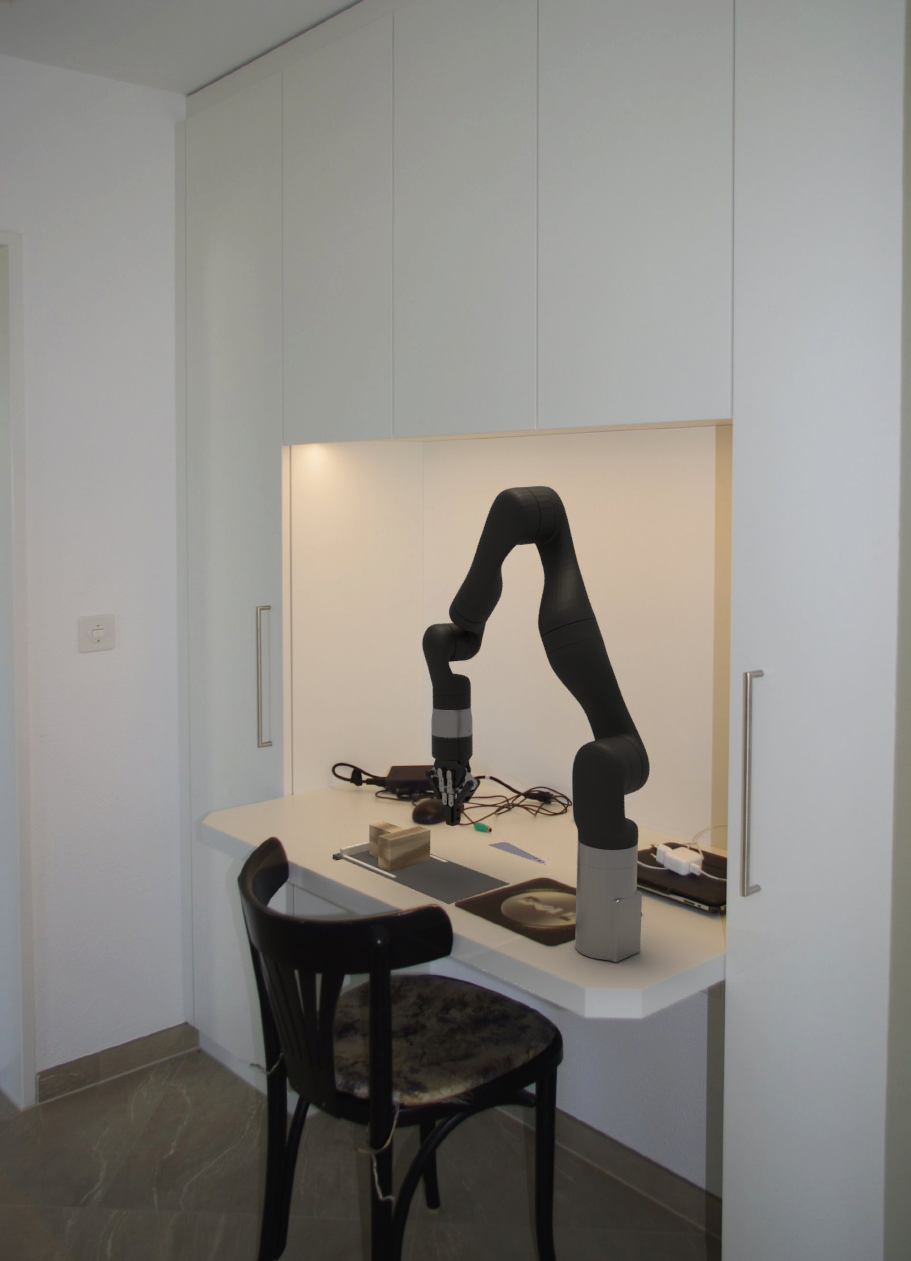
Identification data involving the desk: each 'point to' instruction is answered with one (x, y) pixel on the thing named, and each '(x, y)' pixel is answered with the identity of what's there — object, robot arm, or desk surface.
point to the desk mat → (426, 875)
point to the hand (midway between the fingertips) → (452, 824)
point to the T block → (398, 845)
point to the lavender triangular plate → (516, 851)
